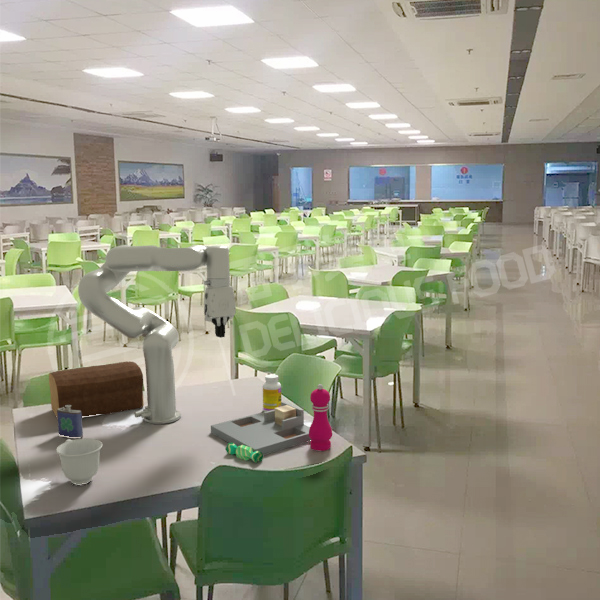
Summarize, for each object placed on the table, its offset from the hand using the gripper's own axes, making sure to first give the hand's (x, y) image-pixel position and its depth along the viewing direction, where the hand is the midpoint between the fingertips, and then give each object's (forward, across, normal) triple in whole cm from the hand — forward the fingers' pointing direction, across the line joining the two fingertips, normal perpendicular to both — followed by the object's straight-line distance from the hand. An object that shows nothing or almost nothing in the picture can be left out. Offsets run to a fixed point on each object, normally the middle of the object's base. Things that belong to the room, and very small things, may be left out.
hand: (220, 336), depth 226 cm
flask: (+29, -47, +17) cm, 58 cm away
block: (+27, +10, -23) cm, 36 cm away
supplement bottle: (+29, +18, -4) cm, 35 cm away
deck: (+29, +2, -22) cm, 37 cm away
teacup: (+29, -56, -17) cm, 65 cm away
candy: (+30, -12, -33) cm, 46 cm away
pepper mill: (+29, +10, -41) cm, 51 cm away
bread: (+30, -30, +38) cm, 57 cm away
